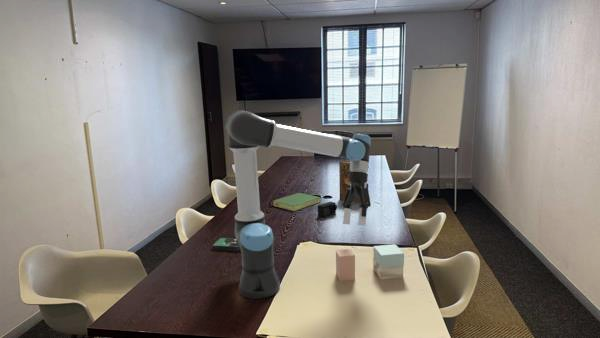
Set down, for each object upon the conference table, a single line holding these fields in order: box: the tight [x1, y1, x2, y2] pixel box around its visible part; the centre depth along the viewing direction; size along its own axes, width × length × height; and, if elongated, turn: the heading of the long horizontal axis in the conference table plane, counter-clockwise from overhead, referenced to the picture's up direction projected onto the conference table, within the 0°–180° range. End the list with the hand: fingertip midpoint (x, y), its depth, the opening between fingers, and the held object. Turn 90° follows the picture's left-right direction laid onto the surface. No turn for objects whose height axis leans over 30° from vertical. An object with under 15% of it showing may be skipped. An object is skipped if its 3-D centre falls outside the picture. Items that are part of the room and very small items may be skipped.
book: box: [338, 160, 360, 204], centre depth 256 cm, size 16×6×25 cm, turn 58°
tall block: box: [335, 248, 356, 282], centre depth 155 cm, size 6×6×10 cm
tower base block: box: [372, 257, 404, 280], centre depth 157 cm, size 9×9×5 cm
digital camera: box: [317, 201, 338, 219], centre depth 228 cm, size 10×5×7 cm, turn 132°
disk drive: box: [211, 237, 241, 252], centre depth 189 cm, size 10×3×15 cm
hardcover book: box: [272, 192, 321, 212], centre depth 253 cm, size 25×19×4 cm
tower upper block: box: [373, 243, 405, 268], centre depth 156 cm, size 9×9×5 cm
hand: (353, 224), depth 160 cm, fingers open, 13 cm apart
